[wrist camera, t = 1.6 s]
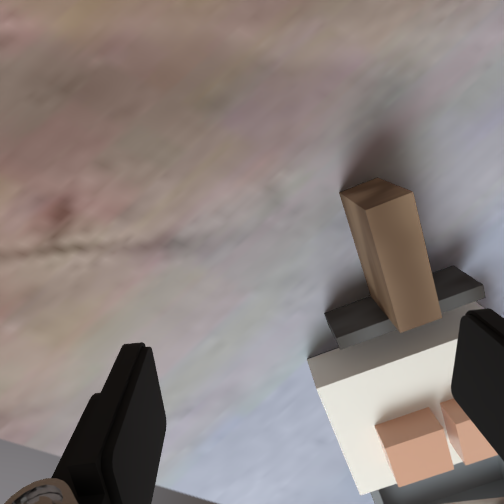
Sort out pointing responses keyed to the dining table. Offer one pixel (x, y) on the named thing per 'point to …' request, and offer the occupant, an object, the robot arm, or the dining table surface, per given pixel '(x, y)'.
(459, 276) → the scraper
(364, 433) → the board
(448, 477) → the tray
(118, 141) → the dining table surface
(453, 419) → the tile
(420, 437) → the tile
